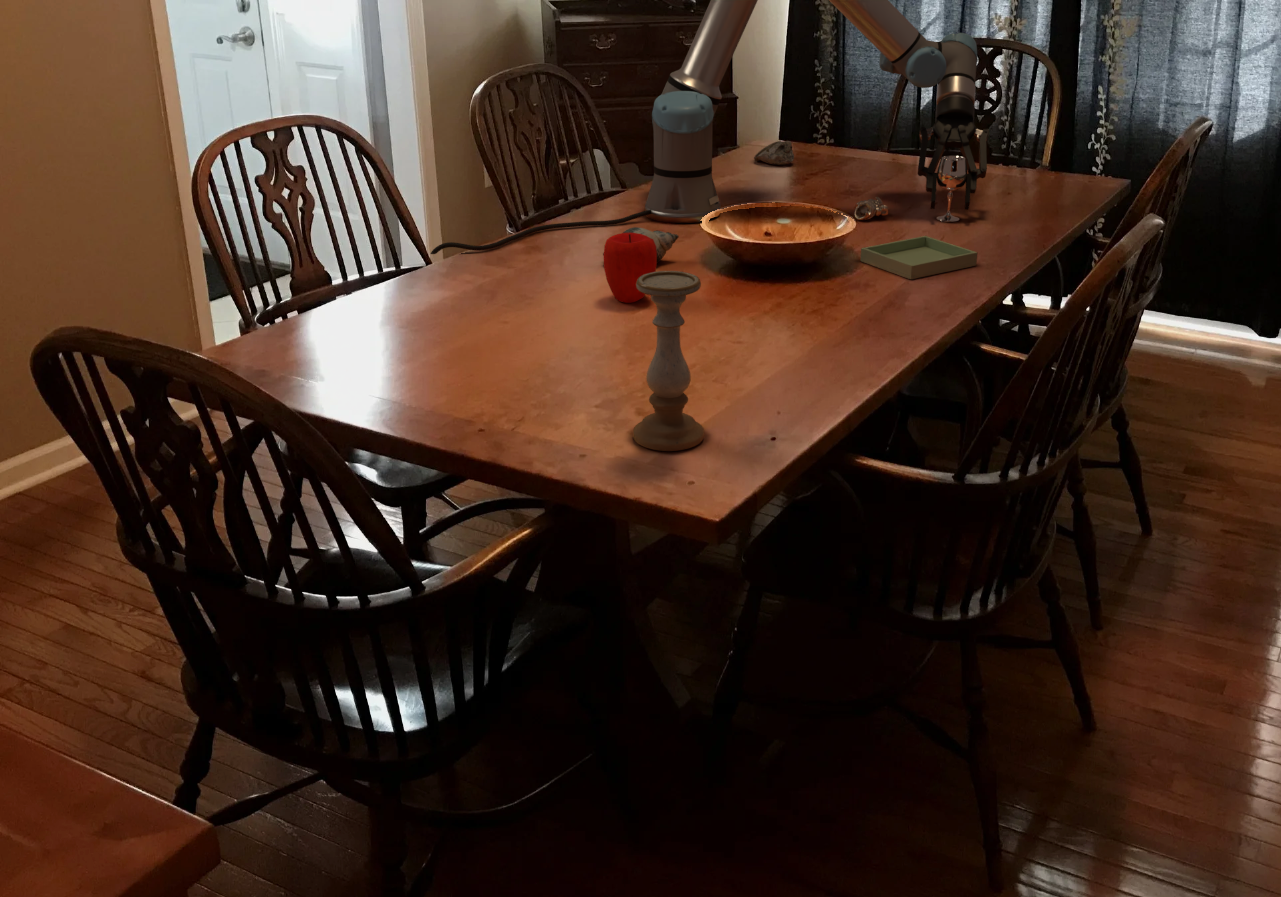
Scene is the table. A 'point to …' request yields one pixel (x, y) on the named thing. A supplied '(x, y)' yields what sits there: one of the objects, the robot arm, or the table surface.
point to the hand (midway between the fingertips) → (950, 205)
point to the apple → (628, 264)
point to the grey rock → (776, 153)
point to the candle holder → (668, 366)
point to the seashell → (656, 239)
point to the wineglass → (951, 179)
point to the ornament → (870, 209)
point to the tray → (918, 257)
